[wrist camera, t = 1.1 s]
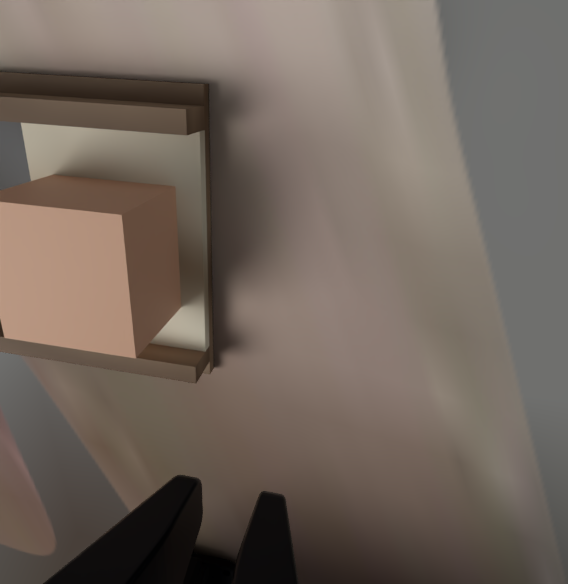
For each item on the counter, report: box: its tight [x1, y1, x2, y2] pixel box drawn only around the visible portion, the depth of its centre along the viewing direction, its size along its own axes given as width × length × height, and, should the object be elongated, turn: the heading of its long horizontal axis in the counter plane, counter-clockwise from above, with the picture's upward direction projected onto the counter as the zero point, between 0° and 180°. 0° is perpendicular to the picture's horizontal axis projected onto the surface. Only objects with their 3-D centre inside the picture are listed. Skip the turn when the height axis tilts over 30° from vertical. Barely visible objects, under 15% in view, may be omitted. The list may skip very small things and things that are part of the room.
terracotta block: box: [0, 175, 181, 358], centre depth 17 cm, size 5×5×4 cm
